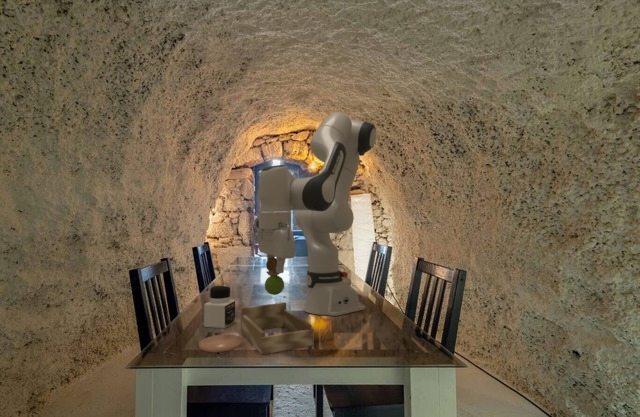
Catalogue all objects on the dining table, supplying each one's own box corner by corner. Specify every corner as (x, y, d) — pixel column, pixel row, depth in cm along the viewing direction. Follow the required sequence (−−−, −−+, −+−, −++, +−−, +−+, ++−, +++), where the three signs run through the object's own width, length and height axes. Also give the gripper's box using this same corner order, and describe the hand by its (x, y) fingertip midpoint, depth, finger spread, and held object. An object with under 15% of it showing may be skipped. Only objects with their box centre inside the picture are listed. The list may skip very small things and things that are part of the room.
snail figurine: (280, 296, 95) (278, 251, 96) (261, 296, 98) (259, 252, 99) (291, 293, 100) (288, 250, 101) (272, 292, 103) (270, 251, 104)
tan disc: (236, 335, 102) (236, 332, 102) (246, 347, 92) (246, 344, 92) (196, 341, 97) (196, 338, 97) (202, 355, 87) (202, 351, 87)
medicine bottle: (225, 328, 108) (225, 288, 108) (203, 327, 109) (204, 288, 109) (235, 321, 115) (235, 284, 115) (215, 320, 116) (215, 283, 116)
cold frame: (285, 324, 111) (285, 302, 111) (313, 345, 93) (313, 318, 94) (240, 331, 105) (240, 307, 105) (262, 354, 87) (262, 326, 87)
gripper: (300, 222, 92) (301, 275, 92) (273, 221, 110) (274, 265, 110) (277, 223, 89) (278, 278, 89) (253, 222, 107) (254, 267, 107)
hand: (276, 271), depth 100 cm, fingers open, 4 cm apart
